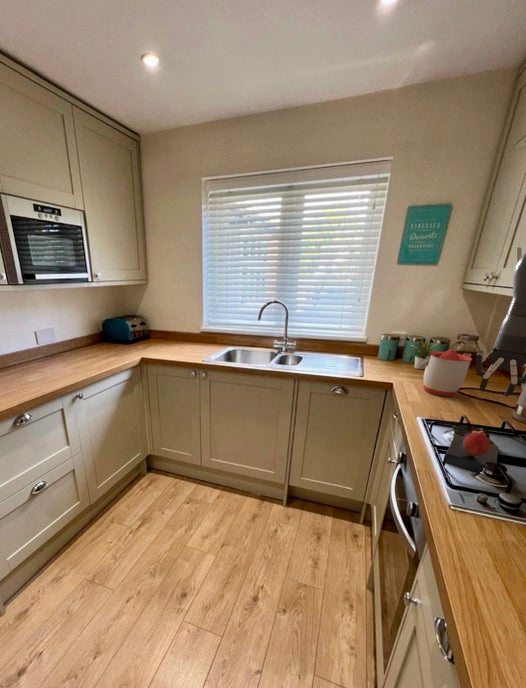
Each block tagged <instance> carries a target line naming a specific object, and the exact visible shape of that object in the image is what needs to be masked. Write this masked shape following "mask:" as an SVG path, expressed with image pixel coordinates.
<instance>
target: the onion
mask: <svg viewBox="0 0 526 688" xmlns="http://www.w3.org/2000/svg"><path fill="white" fill-rule="evenodd" d="M470 433H471V434H469V435H468V436H466V437H465V438H464V440H463V446H464V449H465V450H466V451H467V452H468V453H469V454H470V455H471V456H477V455H481V454H484V453H486V452H487V451H488V450H489V447H490V444H491V441H490V442H489V439H490V438H488V437H487V436H486V434H485V433H484V430H479V432H475V433H472V432H470ZM484 434H485V435H484Z"/></svg>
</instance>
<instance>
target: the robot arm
mask: <svg viewBox="0 0 526 688" xmlns="http://www.w3.org/2000/svg"><path fill="white" fill-rule="evenodd" d="M487 358H488V359H489V361H490V363H491V365H490V366H489V368H488V369H487V370H486V371H484V370H483V362H485V361H486V360H487ZM525 365H526V253H524V254H523V255H522V256H521V257H520V258H519V260H518V261H517V262H516V264H515V267H514V271H513V278H512V299H511V301H510V304H509V307H508V310H507V313H506V315H505V317H504V319H503V321H502V323H501V325H500V327H499V331H498V334H497V336H496V339H495V342H494V345H493V347H492V350H491V351H489V352H488V353H481V352H479V353H477V354H476V355H475V375H477V376H480V377H481V382H480V385H479V389H480V390H481V392H485V391H486V388H487V385H488V382H489V380H490V376H491V375H493V373H494V372H495V371H496V370H498V371H506V372H510V381H509V383H508V385H507V388H506V390H505V393H504V397H506V398H507V397H509V396H512V395H513V394H514V391H515V389H516V386H517V385H519V384H523V385H525V384H526V372H525V373H524V374H523V375H522V377H518V369H519V368H521V367H523V366H525Z"/></svg>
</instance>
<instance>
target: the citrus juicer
mask: <svg viewBox="0 0 526 688" xmlns="http://www.w3.org/2000/svg"><path fill="white" fill-rule="evenodd" d="M428 357H429V359H426V360H424V361H423V362H422V364H426V368H425V369H424V372H423V389H424V391H425V392H427V393H429V394H433V395H437V396H443V397H447V398H448V397H452V396H455V395H456V394H457V392H458V391H459V389H460V388H461V387H462V385H463V384H464V381H465V379H466V376H467V373H468V370H469V367H470V364H471V361H473V358H472V357H470V356H468V355H465V354H461V353H457V352H456V350H454V348H450V349H447V350H446V351H439V350H438V351H437V350H436V351H434V352H431V354H430V355H429V356H428Z"/></svg>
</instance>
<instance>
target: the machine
mask: <svg viewBox="0 0 526 688" xmlns="http://www.w3.org/2000/svg"><path fill="white" fill-rule="evenodd" d="M471 433H472V432H465V433H464V435H461V434H457V433H454V435H453V437H452V439H451V442H450V445H449V446H448V449H447V451H446V454H445V456H444V459H443V463H444V462H445V463H444V464H447V465H450V466H453V467H455V468H459V469H462V470H464V471H468V472H472V473H474V472H476V473H475V474H477V473H480V472H482V471H483V468H484V467H485V466H488V465H487V464H486V462H494V463H496V464H498V463H497V462H498V454H499V448H500V447H499V445H496V444H492V443H491V439H490V438H488V439H489V442H490V447H489V450H488V451H487V452H486V453H484V454H481V455H477V456H471V455H470V454H469V453H468V452H467V451H466V450H465V449H464V446H463V440H464V438H465V437H466V436H468V435H469V434H471Z"/></svg>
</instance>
